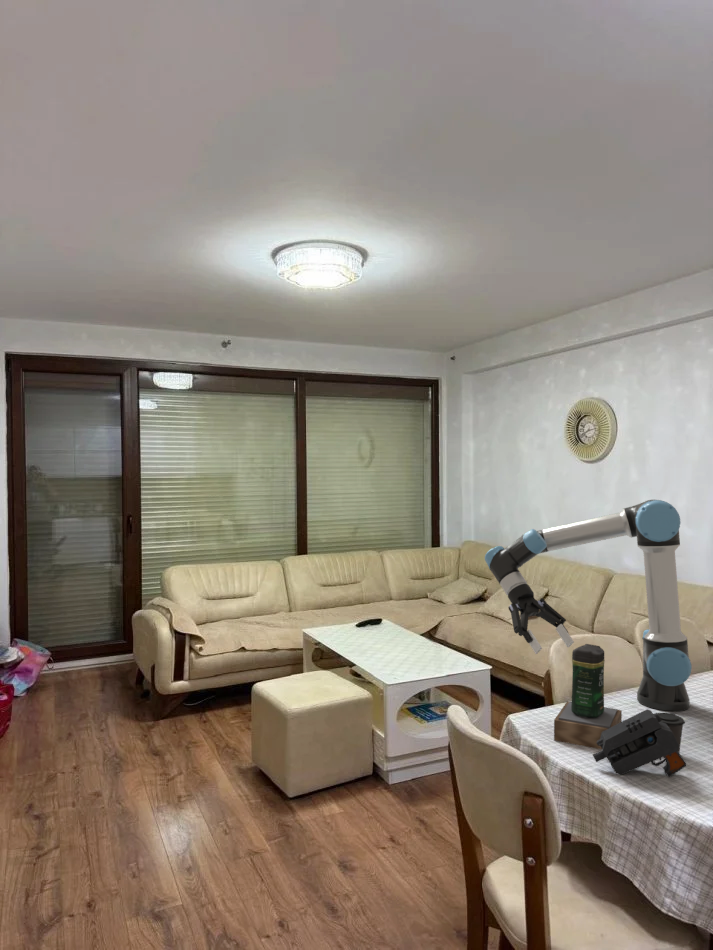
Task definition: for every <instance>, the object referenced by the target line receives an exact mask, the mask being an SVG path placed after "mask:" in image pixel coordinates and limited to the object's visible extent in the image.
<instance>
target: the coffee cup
mask: <svg viewBox="0 0 713 950" xmlns="http://www.w3.org/2000/svg"><path fill="white" fill-rule="evenodd" d="M655 713H657V714H658V715H659V717H660V719H661V721H660V722H663V723H666V724H667V726H668V727H669V728H670V730H671V731H672V733H673V735H674V737H675V738H676V740H677V742H678V744H679V748H678V751H677V752H678V753H679V754H680V752H681V751H680V750H681V742H682V735H683V726H684V725H685V724H686V722H685V720H684V718H682V716H679V715H676V714H675V713H672V712H655ZM655 713H653V714H655Z"/></svg>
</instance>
